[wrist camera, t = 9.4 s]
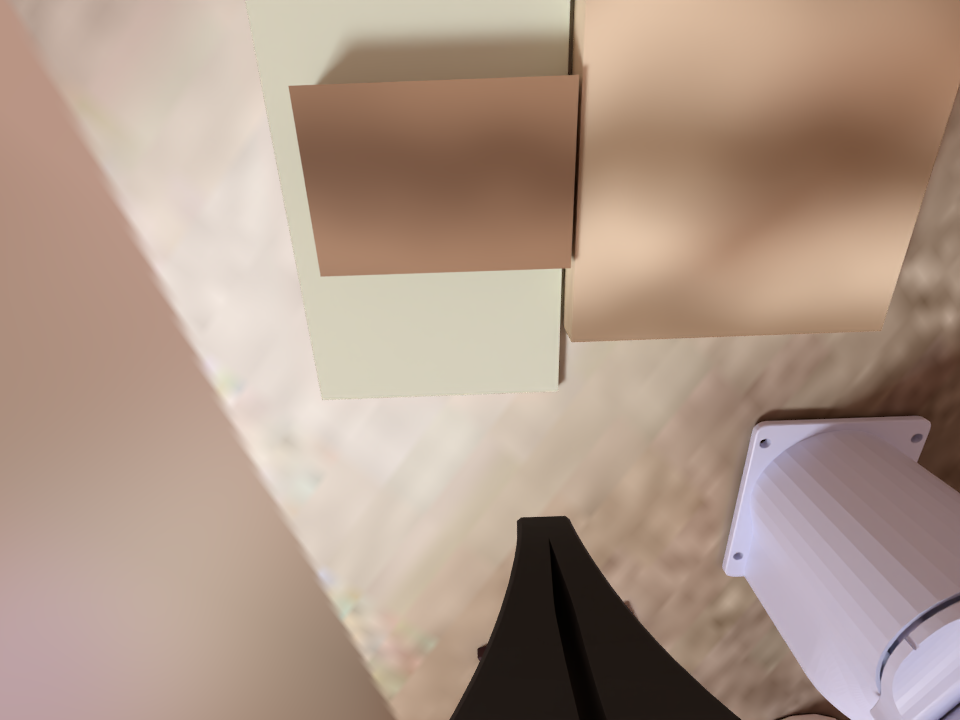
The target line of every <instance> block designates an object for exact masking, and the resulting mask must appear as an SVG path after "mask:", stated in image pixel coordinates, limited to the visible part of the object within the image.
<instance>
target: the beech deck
mask: <svg viewBox="0 0 960 720" xmlns="http://www.w3.org/2000/svg"><path fill="white" fill-rule="evenodd" d="M572 75H579V91H578V114H577V137H576V160H575V183H574V206H573V229H572V252H571V268H565V286H564V315H563V326H564V328H565V330H566V332H567V334H568V336H569V338H570V340H571V342H590V341H617V340H645V339H672V338H699V337H727V336H754V335H782V334H809V333H837V332H864V331H881V330H882V326H883V323H884V320H885V317H886V314H887V311H888V308H889V304H890V301H891V298H892V295H893V292H894V289H895V286H896V282H897V279H898V276H899V273H900V270H901V267H902V264H903V260H904V257H905V254H906V251H907V248H908V245H909V242H910V238H911V235H912V232H913V229H914V226H915V223H916V220H917V216H918V213H919V210H920V207H921V204H922V201H923V198H924V194H925V191H926V188H927V185H928V182H929V179H930V176H931V172H932V169H933V166H934V163H935V160H936V157H937V154H938V150H939V147H940V144H941V141H942V138H943V135H944V132H945V128H946V125H947V122H948V119H949V116H950V113H951V110H952V106H953V103H954V100H955V97H956V94H957V91H958V88H959V84H960V0H574V20H573V50H572Z"/></svg>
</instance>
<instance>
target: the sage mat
mask: <svg viewBox="0 0 960 720" xmlns="http://www.w3.org/2000/svg"><path fill="white" fill-rule="evenodd" d="M245 3H246V9H247V14H248V19H249V24H250V29H251V34H252V40H253V45H254V50H255V55H256V60H257V65H258V71H259V76H260V81H261V86H262V91H263V97H264V102H265V107H266V112H267V117H268V122H269V128H270V133H271V138H272V143H273V148H274V153H275V159H276V164H277V169H278V174H279V179H280V184H281V190H282V195H283V200H284V205H285V210H286V216H287V221H288V226H289V231H290V236H291V241H292V247H293V252H294V257H295V262H296V267H297V272H298V278H299V283H300V288H301V293H302V298H303V303H304V309H305V314H306V319H307V324H308V329H309V335H310V340H311V345H312V350H313V355H314V360H315V366H316V371H317V376H318V381H319V386H320V391H321V397H322V400H335V399H363V398H391V397H420V396H448V395H477V394H505V393H533V392H558V376H559V344H560V311H561V279H562V269H533V270H504V271H474V272H444V273H414V274H385V275H355V276H325V277H321V276H320V270H319V264H318V258H317V252H316V246H315V240H314V234H313V229H312V223H311V217H310V211H309V205H308V199H307V193H306V187H305V181H304V175H303V169H302V164H301V158H300V152H299V146H298V140H297V134H296V128H295V122H294V116H293V110H292V105H291V99H290V93H289V87H288V86H296V85H322V84H349V83H375V82H402V81H428V80H455V79H481V78H508V77H534V76H561V75H568V54H569V22H570V0H245Z"/></svg>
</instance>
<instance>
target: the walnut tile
mask: <svg viewBox="0 0 960 720" xmlns="http://www.w3.org/2000/svg"><path fill="white" fill-rule="evenodd" d="M288 87H289V93H290V99H291V105H292V110H293V116H294V122H295V128H296V134H297V140H298V146H299V152H300V158H301V164H302V169H303V175H304V181H305V187H306V193H307V199H308V205H309V211H310V217H311V223H312V229H313V234H314V240H315V246H316V252H317V258H318V264H319V270H320V276H321V277H325V276H355V275H385V274H414V273H444V272H474V271H504V270H533V269H563V268H571V252H572V229H573V206H574V183H575V160H576V137H577V114H578V91H579V75H561V76H534V77H508V78H481V79H455V80H428V81H402V82H375V83H349V84H322V85H296V86H288Z"/></svg>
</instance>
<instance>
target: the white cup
mask: <svg viewBox="0 0 960 720" xmlns="http://www.w3.org/2000/svg"><path fill="white" fill-rule="evenodd" d="M781 720H837V719H835V718H832V717H828V716H823V715H818V714H806V715H796V716H790V717H787V718H784V719H781Z"/></svg>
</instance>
